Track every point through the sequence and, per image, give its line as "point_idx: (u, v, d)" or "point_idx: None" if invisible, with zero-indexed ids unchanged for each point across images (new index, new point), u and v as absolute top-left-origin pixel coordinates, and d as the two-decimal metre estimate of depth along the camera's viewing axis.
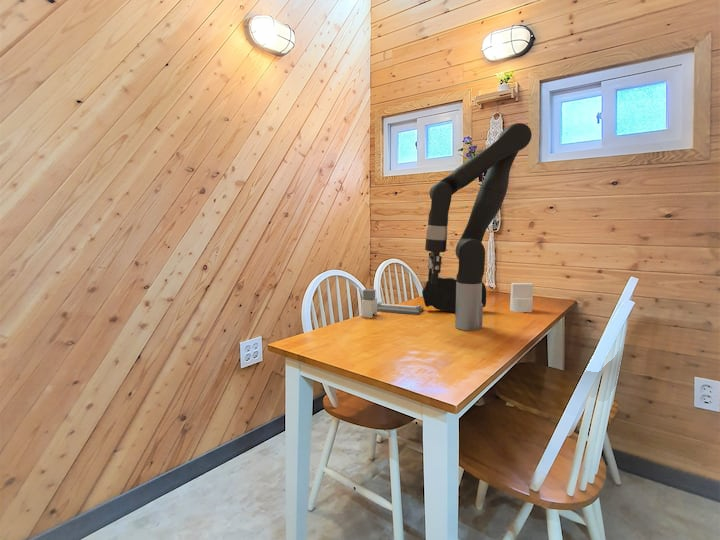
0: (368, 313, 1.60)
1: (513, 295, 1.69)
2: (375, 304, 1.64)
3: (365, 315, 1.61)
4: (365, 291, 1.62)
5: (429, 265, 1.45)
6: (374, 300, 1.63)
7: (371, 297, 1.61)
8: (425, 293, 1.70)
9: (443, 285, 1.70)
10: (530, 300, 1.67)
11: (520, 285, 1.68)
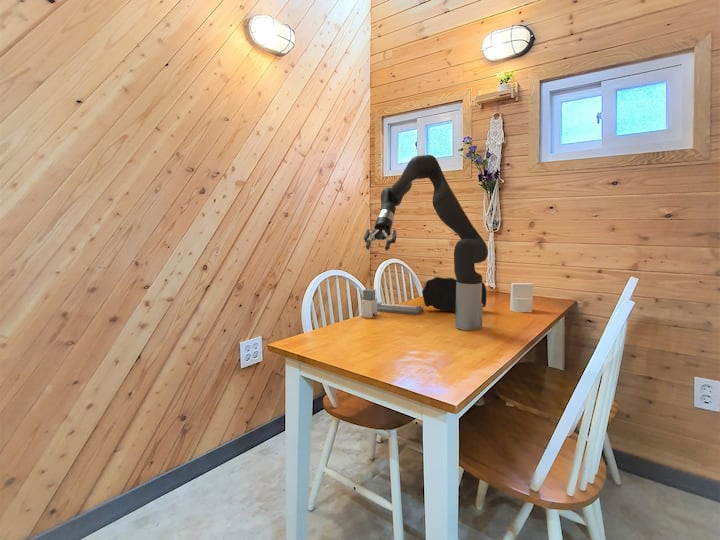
0: (368, 313, 1.60)
1: (513, 295, 1.69)
2: (375, 304, 1.64)
3: (365, 315, 1.61)
4: (365, 291, 1.62)
5: (386, 240, 1.73)
6: (374, 300, 1.63)
7: (371, 297, 1.61)
8: (425, 293, 1.70)
9: (443, 285, 1.70)
10: (530, 300, 1.67)
11: (520, 285, 1.68)
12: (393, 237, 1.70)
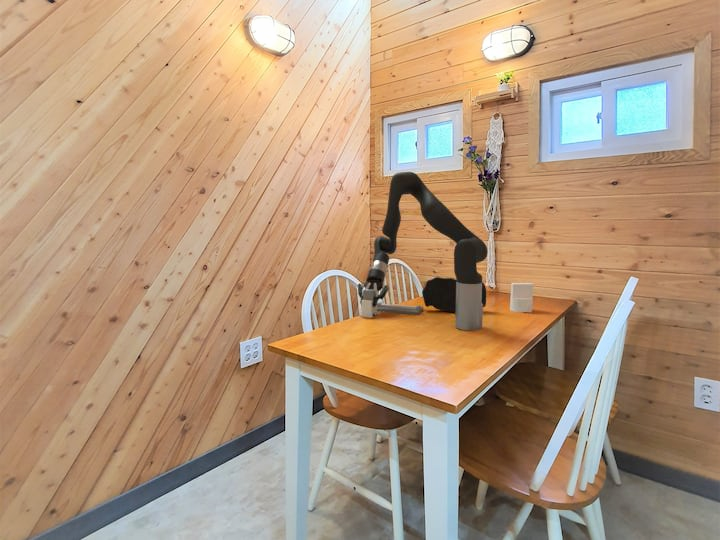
0: (368, 313, 1.60)
1: (513, 295, 1.69)
2: None
3: (365, 315, 1.61)
4: (365, 291, 1.62)
5: None
6: None
7: (371, 297, 1.61)
8: (425, 293, 1.70)
9: (443, 285, 1.70)
10: (530, 300, 1.67)
11: (520, 285, 1.68)
12: (381, 293, 1.62)
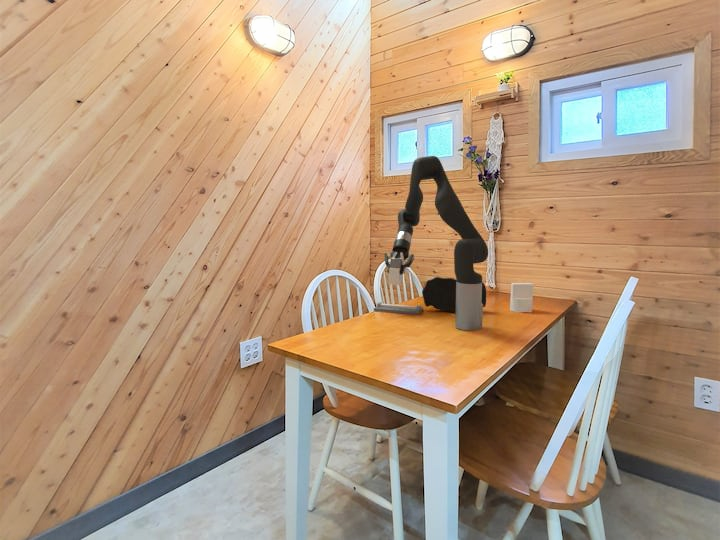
0: (396, 280, 1.67)
1: (513, 295, 1.69)
2: None
3: (393, 282, 1.67)
4: (392, 259, 1.68)
5: None
6: None
7: (398, 265, 1.67)
8: (425, 293, 1.70)
9: (443, 285, 1.70)
10: (530, 300, 1.67)
11: (520, 285, 1.68)
12: (407, 261, 1.69)
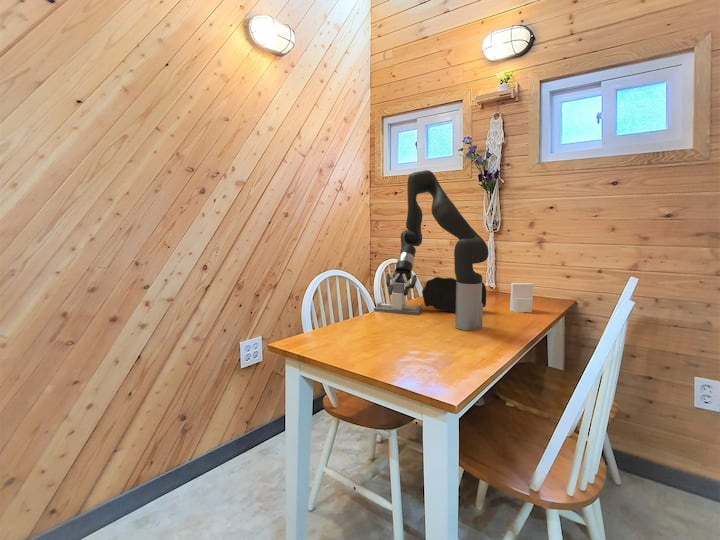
0: (398, 305, 1.69)
1: (513, 295, 1.69)
2: (404, 297, 1.73)
3: (395, 307, 1.70)
4: (395, 284, 1.70)
5: None
6: (403, 293, 1.71)
7: (401, 290, 1.70)
8: (425, 293, 1.70)
9: (443, 285, 1.70)
10: (530, 300, 1.67)
11: (520, 285, 1.68)
12: (412, 282, 1.70)
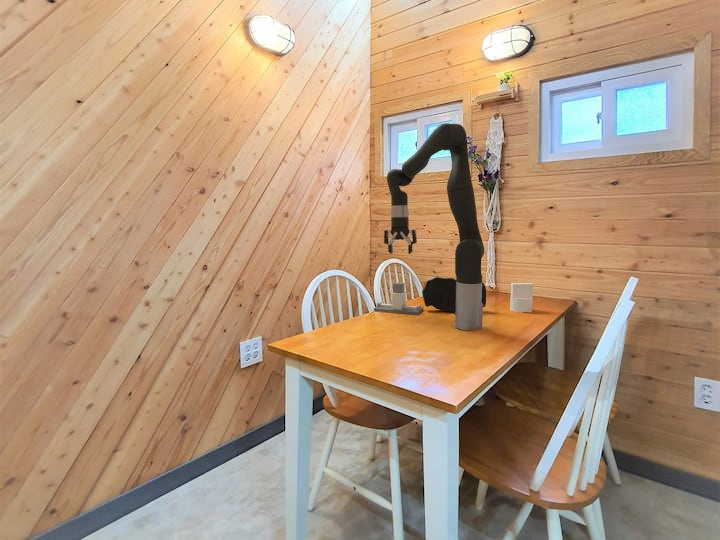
0: (398, 305, 1.69)
1: (513, 295, 1.69)
2: (404, 297, 1.73)
3: (395, 307, 1.70)
4: (395, 284, 1.70)
5: None
6: (403, 293, 1.71)
7: (401, 290, 1.70)
8: (425, 293, 1.70)
9: (443, 285, 1.70)
10: (530, 300, 1.67)
11: (520, 285, 1.68)
12: (414, 240, 1.66)
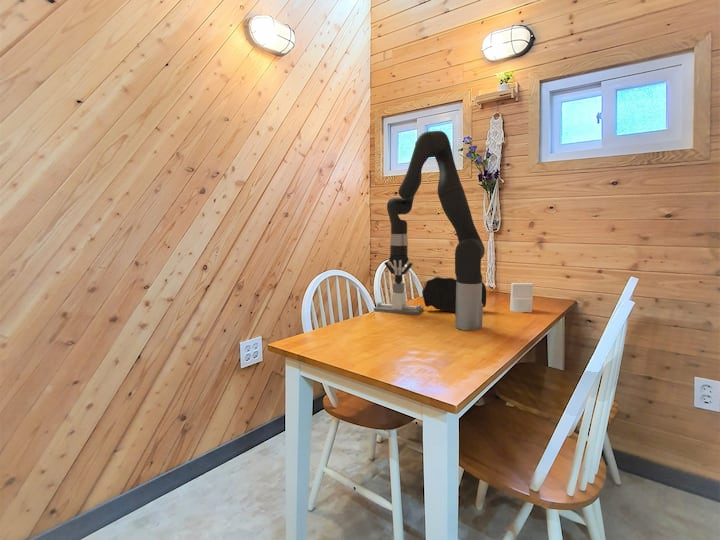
0: (398, 305, 1.69)
1: (513, 295, 1.69)
2: (404, 297, 1.73)
3: (395, 307, 1.70)
4: (395, 284, 1.70)
5: None
6: (403, 293, 1.71)
7: (401, 290, 1.70)
8: (425, 293, 1.70)
9: (443, 285, 1.70)
10: (530, 300, 1.67)
11: (520, 285, 1.68)
12: (403, 271, 1.68)
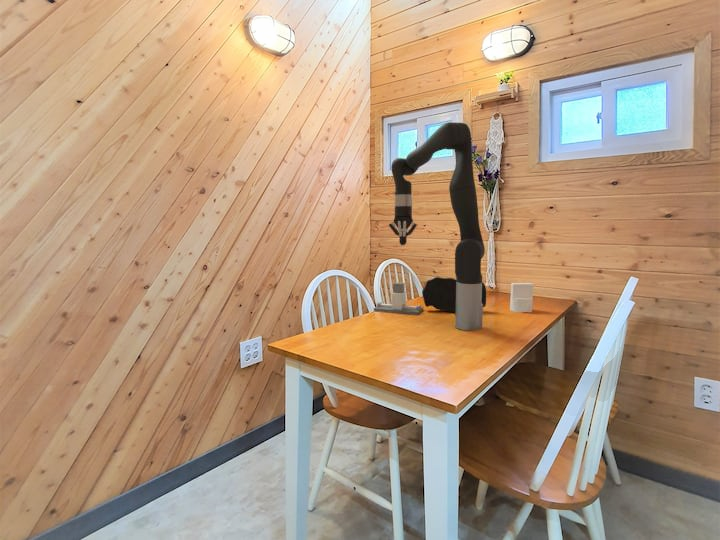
0: (398, 305, 1.69)
1: (513, 295, 1.69)
2: (404, 297, 1.73)
3: (395, 307, 1.70)
4: (395, 284, 1.70)
5: None
6: (403, 293, 1.71)
7: (401, 290, 1.70)
8: (425, 293, 1.70)
9: (443, 285, 1.70)
10: (530, 300, 1.67)
11: (520, 285, 1.68)
12: (408, 231, 1.69)
